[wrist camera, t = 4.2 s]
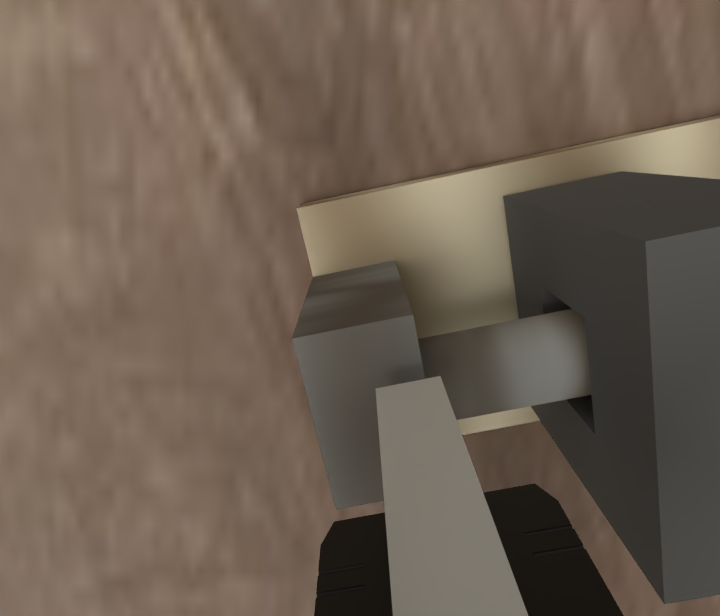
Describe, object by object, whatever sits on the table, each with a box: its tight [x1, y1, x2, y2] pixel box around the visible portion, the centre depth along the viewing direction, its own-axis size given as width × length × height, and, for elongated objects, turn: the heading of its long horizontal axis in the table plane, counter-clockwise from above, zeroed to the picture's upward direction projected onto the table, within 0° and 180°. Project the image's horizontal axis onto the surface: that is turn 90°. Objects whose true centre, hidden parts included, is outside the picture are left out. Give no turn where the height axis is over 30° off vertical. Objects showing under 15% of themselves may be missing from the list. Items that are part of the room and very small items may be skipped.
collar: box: [503, 171, 720, 604], centre depth 14 cm, size 4×8×9 cm, turn 12°
